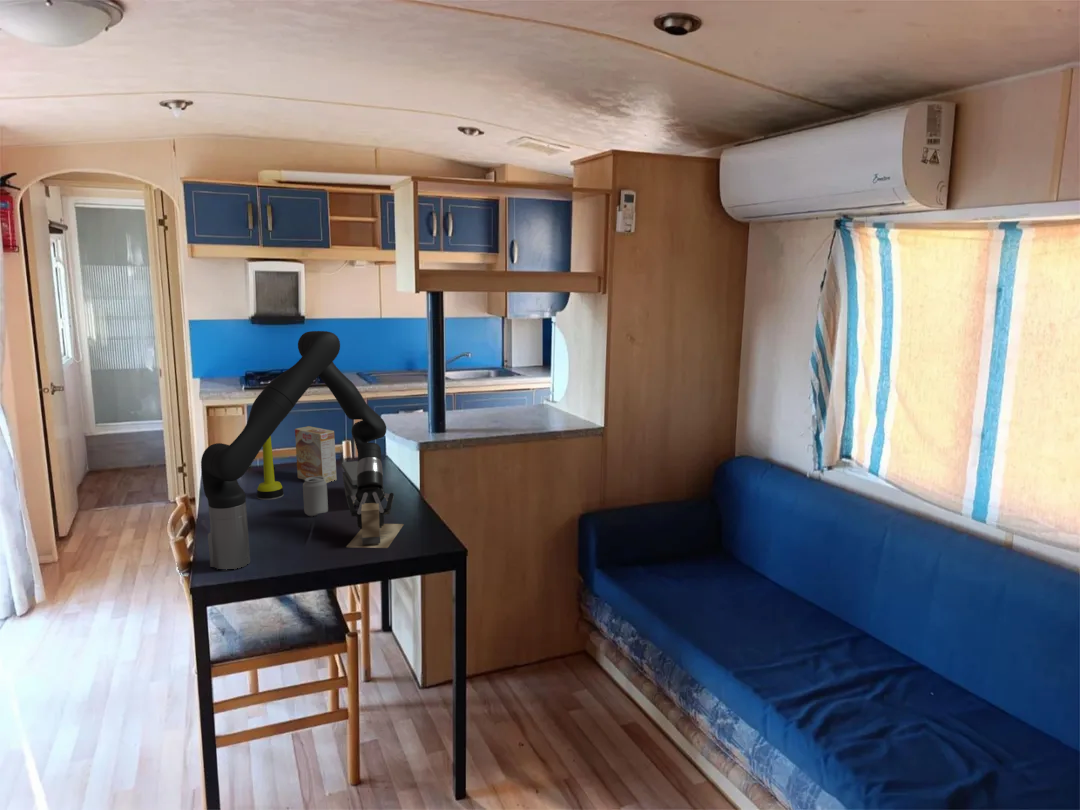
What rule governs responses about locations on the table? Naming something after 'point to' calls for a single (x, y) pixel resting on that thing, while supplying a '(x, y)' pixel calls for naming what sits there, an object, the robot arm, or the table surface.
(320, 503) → the can
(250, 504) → the table surface
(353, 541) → the board
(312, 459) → the coffeecake box
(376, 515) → the block
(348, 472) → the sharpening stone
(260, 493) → the flashlight
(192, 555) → the table surface
